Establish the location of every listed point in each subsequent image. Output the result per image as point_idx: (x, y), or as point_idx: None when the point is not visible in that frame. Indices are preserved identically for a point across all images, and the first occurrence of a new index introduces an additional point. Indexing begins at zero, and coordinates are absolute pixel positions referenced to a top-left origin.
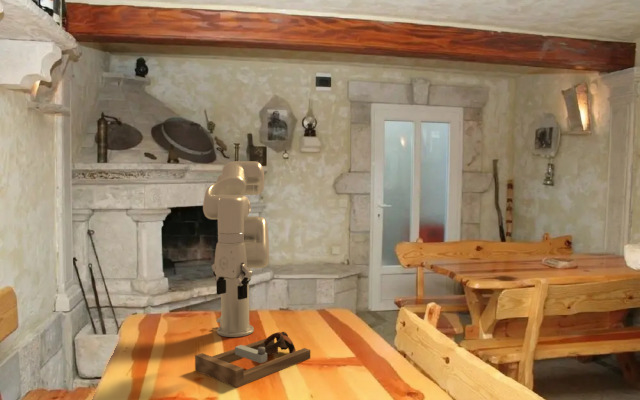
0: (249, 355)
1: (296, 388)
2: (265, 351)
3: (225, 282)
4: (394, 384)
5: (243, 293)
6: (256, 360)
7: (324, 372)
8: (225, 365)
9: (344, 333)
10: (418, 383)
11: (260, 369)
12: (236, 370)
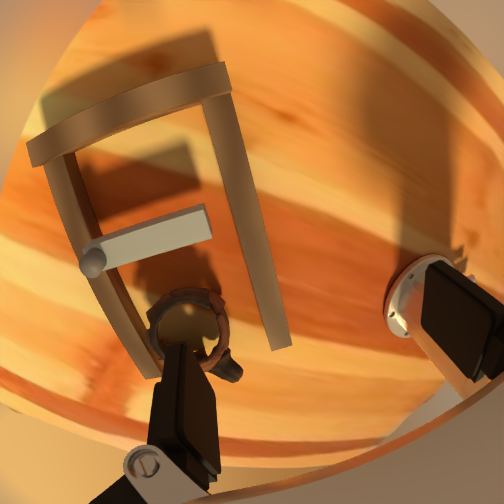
0: (131, 228)
1: (8, 260)
2: (182, 294)
3: (462, 367)
4: (9, 381)
5: (157, 402)
6: (105, 236)
7: (63, 344)
8: (73, 123)
9: (251, 447)
10: (11, 399)
11: (63, 223)
12: (28, 144)
